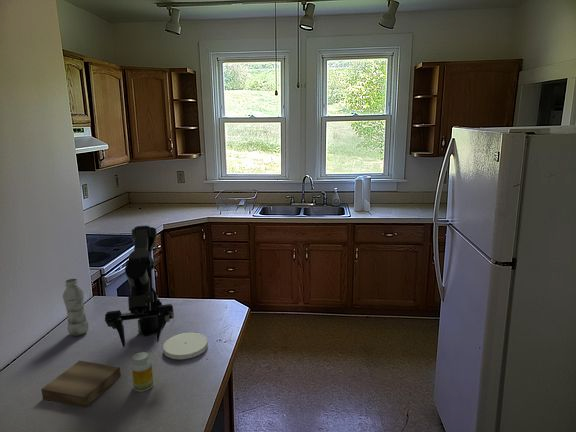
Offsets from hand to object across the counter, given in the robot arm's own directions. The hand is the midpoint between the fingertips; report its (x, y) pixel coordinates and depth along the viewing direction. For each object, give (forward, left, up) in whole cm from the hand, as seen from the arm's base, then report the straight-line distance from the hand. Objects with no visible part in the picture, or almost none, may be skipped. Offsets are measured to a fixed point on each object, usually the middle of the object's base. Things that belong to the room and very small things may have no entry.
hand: (140, 344), depth 117 cm
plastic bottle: (+8, -41, -11) cm, 43 cm away
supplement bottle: (+2, +4, -11) cm, 12 cm away
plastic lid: (-16, -6, -11) cm, 21 cm away
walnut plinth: (+15, -7, -11) cm, 20 cm away
